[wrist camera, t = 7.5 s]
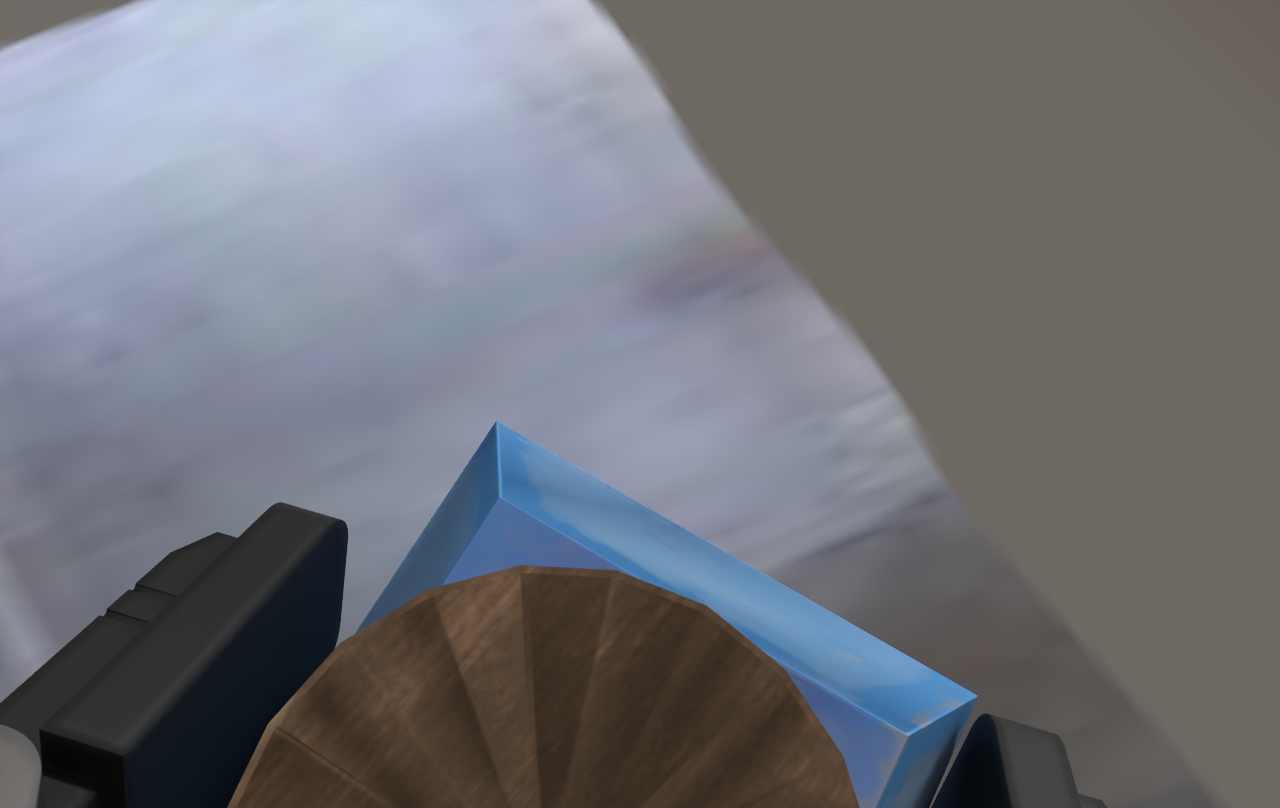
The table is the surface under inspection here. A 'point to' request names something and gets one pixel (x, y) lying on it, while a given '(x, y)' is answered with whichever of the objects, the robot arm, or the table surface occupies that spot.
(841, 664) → the perfume bottle
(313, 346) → the table surface
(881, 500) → the table surface
